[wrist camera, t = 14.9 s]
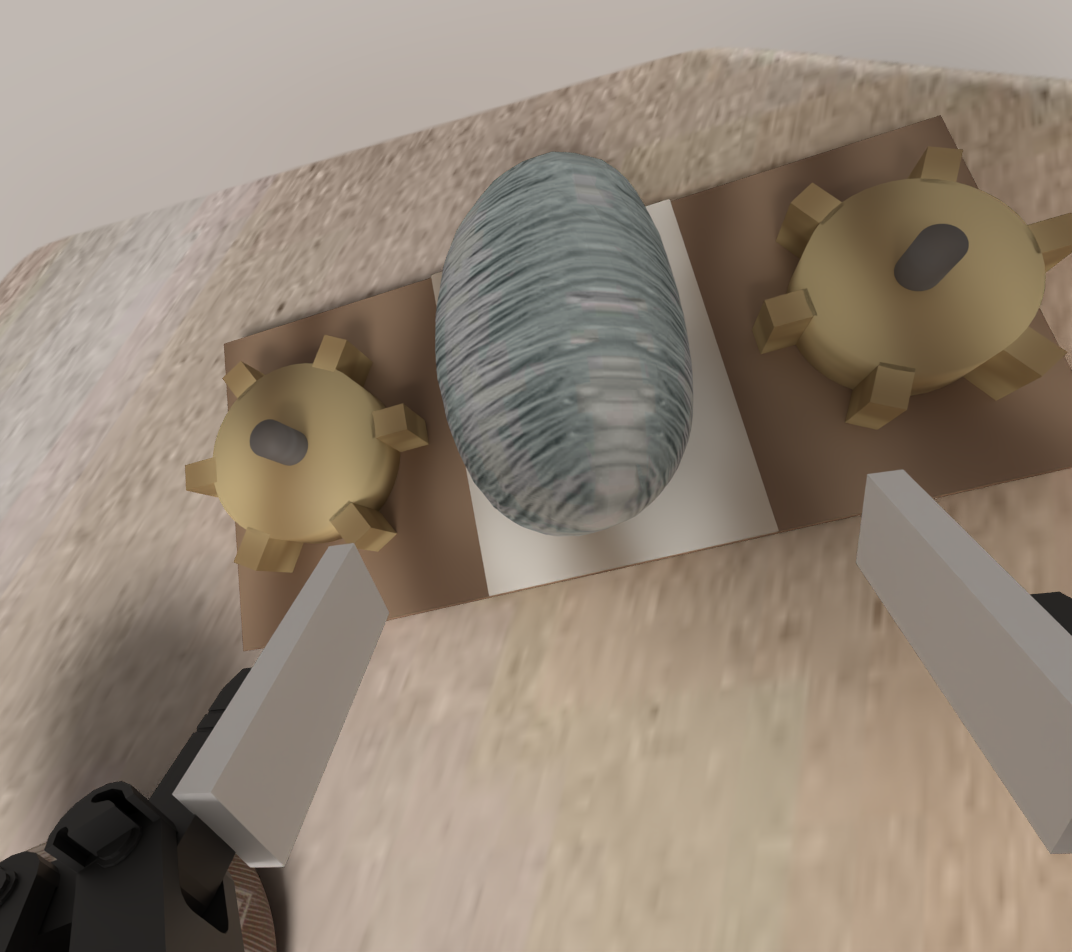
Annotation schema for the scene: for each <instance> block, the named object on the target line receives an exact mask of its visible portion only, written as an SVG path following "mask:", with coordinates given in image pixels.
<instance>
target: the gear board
mask: <svg viewBox="0 0 1072 952" xmlns="http://www.w3.org/2000/svg"><path fill="white" fill-rule="evenodd" d="M962 152H963V150H961V149H958V148H957V146H956V144H955V142H954V140H953V138H952V137H951V135H950V133H949V131H948V129H947V127H946V125H945V123H944V121H943V119H942V117H941V115H940V116H937V117H934V118H931V119H927V120H924V121H921V122H918V123H915V124H912V125H909V126H905V127H902V128H899V129H896V130H893V131H890V132H887V133H883V134H880V135H877V136H874V137H871V138H868V139H865V140H862V141H858V142H855V143H852V144H849V145H846V146H843V147H840V148H836V149H833V150H830V151H827V152H824V153H821V154H818V155H815V156H811V157H808V158H805V159H802V160H799V161H796V162H793V163H789V164H786V165H783V166H780V167H777V168H774V169H771V170H768V171H764V172H761V173H758V174H755V175H752V176H749V177H746V178H742V179H739V180H736V181H733V182H730V183H727V184H724V185H721V186H717V187H714V188H711V189H708V190H705V191H702V192H699V193H695V194H692V195H689V196H686V197H683V198H680V199H677V200H674V201H670V199H667V200H664V201H661V202H658V203H655V204H652V205H649V206H645V207H646V209H647V211H648V212H649V214H650V216H651V218H652V220H653V222H654V224H655V226H656V228H657V230H658V232H659V234H660V236H661V240H662V243H663V246H664V249H665V251H666V254H667V257H668V260H669V263H670V266H671V270H672V273H673V276H674V279H675V283H676V286H677V289H678V293H679V297H680V302H681V306H682V310H683V313H684V318H685V323H686V329H687V335H688V341H689V349H690V355H691V362H692V372H693V418H692V428H691V432H690V437H689V441H688V444H687V446H686V449H685V452H684V454H683V457H682V459H681V462H680V464H679V467H678V469H677V470H676V472H675V474H674V475H673V477H672V479H671V480H670V482H669V483H668V484H667V486H666V487H665V488H664V490H663V491H662V492H661V494H660V495H659V496H658V497H657V498H656V499H655V500H654V501H653V502H652V503H651V504H650V505H648V506H647V507H646V508H645V509H644V510H643V511H641V512H640V513H639V514H638V515H637V516H635V517H633V518H631V519H629V520H627V521H624V522H622V523H619V524H617V525H615V526H612V527H610V528H608V529H605V530H601V531H598V532H595V533H591V534H587V535H582V536H551V535H545V534H542V533H539V532H536V531H533V530H530V529H527V528H524V527H522V526H520V525H518V524H516V523H514V522H513V521H511V520H510V519H508V518H507V517H505V516H504V515H503V514H502V513H501V512H499V511H498V510H497V509H496V508H494V507H493V506H492V504H491V503H490V502H489V500H488V499H487V498H486V497H485V495H484V494H483V493H482V492H481V490H480V489H479V488H478V487H477V486H476V484H475V483H474V482H473V480H472V478H471V476H470V474H469V472H468V470H467V468H466V466H465V464H464V462H463V460H462V458H461V456H460V454H459V452H458V449H457V446H456V444H455V441H454V439H453V436H452V434H451V431H450V428H449V425H448V422H447V419H446V414H445V409H444V404H443V400H442V395H441V391H440V387H439V383H438V379H437V369H436V354H435V330H436V308H437V301H438V296H439V291H440V283H441V278H442V272H443V271H442V272H439V273H436V274H433V275H431V278H429V279H426V280H423V281H420V282H417V283H413V284H410V285H407V286H404V287H401V288H398V289H395V290H391V291H388V292H385V293H382V294H379V295H376V296H373V297H369V298H366V299H363V300H360V301H357V302H354V303H351V304H348V305H344V306H341V307H338V308H335V309H332V310H329V311H326V312H322V313H319V314H316V315H313V316H310V317H307V318H304V319H301V320H297V321H294V322H291V323H288V324H285V325H282V326H279V327H275V328H272V329H269V330H266V331H263V332H260V333H257V334H254V335H250V336H247V337H244V338H241V339H238V340H235V341H232V342H228V343H225V344H224V353H225V369H226V375H225V376H224V377H223V378H222V379H223V380H224V381H225V383H226V384H227V400H228V413H227V414H226V416H225V418H224V420H223V422H222V424H221V426H220V429H219V432H218V435H217V438H216V442H215V446H214V452H213V458H209V459H206V460H202V461H199V462H195V463H192V464H188V465H185V474H186V490H187V491H191V492H196V493H200V494H205V495H209V496H214V497H219V499H220V502H221V503H222V505H223V507H224V509H225V510H226V511H227V513H228V514H229V515H230V517H231V518H232V519H233V520H234V521H235V526H236V542H237V555H236V557H235V560H234V563H237V564H238V574H239V590H240V605H241V621H242V637H243V651H248V650H255V649H261V648H265V647H266V645H267V643H268V642H269V640H270V639H271V637H272V636H273V634H274V632H275V631H276V629H277V628H278V626H279V624H280V623H281V621H282V620H283V618H284V617H285V615H286V613H287V612H288V610H289V609H290V607H291V606H292V604H293V602H294V601H295V599H296V598H297V596H298V594H299V593H300V591H301V590H302V588H303V587H304V585H305V583H306V582H307V580H308V579H309V577H310V576H311V574H312V572H313V571H314V569H315V568H316V566H317V564H318V563H319V561H320V560H321V558H322V557H323V555H324V553H325V552H326V550H327V549H328V547H329V546H335V545H342V544H350V543H354V544H355V546H356V548H357V550H358V552H359V554H360V556H361V558H362V560H363V562H364V564H365V566H366V568H367V570H368V572H369V574H370V576H371V578H372V580H373V582H374V583H375V585H376V587H377V589H378V591H379V593H380V595H381V597H382V599H383V601H384V603H385V605H386V607H387V609H388V611H389V615H388V617H387V620H386V621H388V620H392V619H397V618H401V617H406V616H410V615H415V614H419V613H424V612H428V611H433V610H437V609H442V608H446V607H451V606H455V605H460V604H464V603H469V602H473V601H477V600H482V599H486V598H491V597H495V596H500V595H504V594H509V593H513V592H518V591H522V590H527V589H531V588H536V587H540V586H545V585H549V584H554V583H558V582H563V581H567V580H572V579H576V578H580V577H585V576H589V575H594V574H598V573H603V572H607V571H612V570H616V569H621V568H625V567H630V566H634V565H639V564H643V563H648V562H652V561H657V560H661V559H666V558H670V557H675V556H679V555H683V554H688V553H692V552H697V551H701V550H706V549H710V548H715V547H719V546H724V545H728V544H733V543H737V542H742V541H746V540H751V539H755V538H760V537H764V536H769V535H773V534H777V533H782V532H786V531H791V530H795V529H800V528H804V527H809V526H813V525H818V524H822V523H827V522H831V521H836V520H840V519H845V518H849V517H854V516H858V515H862V511H863V503H864V495H865V487H866V480H867V474H872V473H880V472H887V471H895V470H902V469H903V470H904V471H905V472H906V473H907V474H908V475H909V476H910V477H911V478H912V479H913V480H914V481H915V482H916V483H917V484H918V485H919V486H920V487H921V488H922V489H923V490H924V491H925V492H926V493H927V494H929V495H930V496H931V497H932V498H933V499H934V498H939V497H943V496H948V495H952V494H957V493H961V492H966V491H970V490H975V489H979V488H983V487H988V486H992V485H997V484H1001V483H1006V482H1010V481H1015V480H1019V479H1024V478H1028V477H1033V476H1037V475H1042V474H1046V473H1051V472H1055V471H1060V470H1064V469H1069V468H1072V370H1071V368H1070V366H1069V365H1068V363H1067V361H1066V359H1065V357H1064V355H1065V354H1066V353H1068V352H1066V351H1065V350H1063V349H1062V348H1060V347H1059V345H1058V343H1057V341H1056V339H1055V337H1054V335H1053V333H1052V331H1051V329H1050V328H1049V326H1048V324H1047V322H1046V320H1045V318H1044V316H1043V314H1042V312H1041V310H1040V308H1039V307H1040V304H1041V301H1042V298H1043V294H1044V290H1045V279H1046V275H1045V273H1046V272H1047V271H1048V270H1050V269H1051V268H1052V267H1054V266H1055V265H1056V264H1057V263H1059V262H1060V261H1061V260H1062V259H1064V258H1065V257H1066V256H1068V255H1069V254H1070V253H1071V252H1072V213H1068V214H1065V215H1061V216H1058V217H1054V218H1051V219H1047V220H1044V221H1040V222H1037V223H1033V224H1030V225H1026V223H1025V222H1024V221H1023V220H1022V219H1021V218H1020V216H1019V215H1017V214H1016V213H1015V212H1014V211H1013V210H1012V209H1011V208H1010V207H1009V206H1007V205H1006V204H1004V203H1003V202H1001V201H1000V200H998V199H997V198H995V197H993V196H991V195H989V194H987V193H986V192H984V191H981V190H979V189H978V187H977V185H976V183H975V181H974V179H973V177H972V175H971V174H970V172H969V170H968V168H967V166H966V164H965V162H964V160H963V158H962Z"/></svg>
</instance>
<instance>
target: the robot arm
mask: <svg viewBox="0 0 1072 952" xmlns="http://www.w3.org/2000/svg"><path fill="white" fill-rule="evenodd" d="M856 564H857V565H858V567H859V568H860V570H861V571H862V573H863V574H864V576H865V577H866V579H867V580H868V582H869V583H870V585H871V586H872V588H873V589H874V591H875V592H876V594H877V595H878V597H879V598H880V600H881V601H882V603H883V604H884V606H885V607H886V609H887V610H888V612H889V613H890V615H891V616H892V618H893V619H894V621H895V622H896V624H897V625H898V627H899V628H900V630H901V631H902V633H903V634H904V636H905V637H906V639H907V640H908V642H909V643H910V645H911V646H912V648H913V649H914V651H915V652H916V654H917V655H918V657H919V658H920V660H921V661H922V663H923V664H924V666H925V667H926V669H927V670H928V672H929V673H930V675H931V676H932V678H933V679H934V681H935V682H936V684H937V685H938V687H939V688H940V690H941V691H942V693H943V694H944V696H945V697H946V699H947V700H948V701H949V703H950V704H951V706H952V707H953V709H954V710H955V712H956V713H957V715H958V716H959V718H960V719H961V721H962V722H963V724H964V725H965V727H966V728H967V730H968V731H969V733H970V734H971V736H972V737H973V739H974V740H975V742H976V743H977V745H978V746H979V748H980V749H981V751H982V752H983V754H984V755H985V757H986V758H987V760H988V761H989V763H990V764H991V766H992V767H993V769H994V770H995V772H996V773H997V775H998V776H999V778H1000V779H1001V781H1002V782H1003V784H1004V785H1005V787H1006V788H1007V790H1008V791H1009V793H1010V794H1011V796H1012V797H1013V799H1014V800H1015V802H1016V803H1017V805H1018V806H1019V808H1020V809H1021V811H1022V812H1023V814H1024V815H1025V817H1026V818H1027V820H1028V821H1029V823H1030V824H1031V826H1032V827H1033V829H1034V830H1035V832H1036V833H1037V835H1038V836H1039V838H1040V839H1041V841H1042V842H1043V844H1044V845H1045V847H1046V848H1047V850H1048V851H1049V853H1050V854H1066V853H1072V598H1070V597H1068V596H1066V595H1064V594H1062V593H1061V592H1052V593H1041V594H1029V593H1028V592H1027V591H1026V590H1025V589H1024V588H1023V587H1022V586H1021V585H1020V584H1019V583H1018V582H1017V581H1016V580H1015V579H1014V578H1013V577H1012V576H1011V575H1010V574H1008V573H1007V572H1006V571H1005V570H1004V569H1003V568H1002V567H1001V566H1000V565H999V564H998V563H997V562H996V561H995V560H994V559H993V558H992V557H991V556H990V555H989V554H988V553H987V552H986V551H985V550H984V549H983V548H982V547H981V546H980V545H979V544H978V543H977V542H976V541H975V540H974V539H973V538H972V537H971V536H970V535H969V534H968V533H967V532H966V531H965V530H964V529H963V528H962V527H961V526H960V525H959V524H958V523H957V522H956V521H955V520H954V519H953V518H952V517H951V516H950V515H949V514H948V513H947V512H946V511H945V510H944V509H943V508H942V507H941V506H940V505H939V504H938V503H937V502H936V501H935V500H934V499H933V498H932V497H931V496H930V495H929V494H927V493H926V492H925V491H924V490H923V489H922V488H921V487H920V486H919V485H918V484H917V483H916V482H915V481H914V480H913V479H912V478H911V477H910V476H909V475H908V474H907V473H906V472H905V471H904V470H903V469H902V470H895V471H887V472H880V473H872V474H867V480H866V487H865V495H864V503H863V511H862V519H861V526H860V534H859V542H858V550H857V558H856ZM388 615H389V611H388V609H387V607H386V605H385V603H384V601H383V599H382V597H381V595H380V593H379V591H378V589H377V587H376V585H375V583H374V582H373V580H372V578H371V576H370V574H369V572H368V570H367V568H366V566H365V564H364V562H363V560H362V558H361V556H360V554H359V552H358V550H357V548H356V546H355V544H354V543H350V544H342V545H335V546H329V547H328V549H327V550H326V552H325V553H324V555H323V557H322V558H321V560H320V561H319V563H318V564H317V566H316V568H315V569H314V571H313V572H312V574H311V576H310V577H309V579H308V580H307V582H306V583H305V585H304V587H303V588H302V590H301V591H300V593H299V594H298V596H297V598H296V599H295V601H294V602H293V604H292V606H291V607H290V609H289V610H288V612H287V613H286V615H285V617H284V618H283V620H282V621H281V623H280V624H279V626H278V628H277V629H276V631H275V632H274V634H273V636H272V637H271V639H270V640H269V642H268V643H267V645H266V647H265V648H264V650H263V651H262V653H261V654H260V656H259V658H258V659H257V661H256V662H255V664H254V666H253V667H252V668H245V669H242V670H241V671H240V672H239V673H238V674H237V675H236V676H235V677H234V678H233V679H232V680H231V681H230V682H229V683H228V684H227V685H226V686H225V687H224V688H223V689H222V691H221V692H220V694H219V695H218V697H217V698H216V700H215V701H214V703H213V704H212V706H211V707H210V709H209V713H208V714H206V715H205V716H204V718H203V719H202V721H201V722H200V724H199V725H198V727H197V732H196V733H193V734H192V736H191V737H190V739H189V740H188V742H187V743H186V745H185V746H184V748H183V749H182V751H181V752H180V754H179V755H178V757H177V758H176V760H175V761H174V763H173V764H172V766H171V767H170V769H169V770H168V772H167V774H166V775H165V777H164V778H163V780H162V781H161V783H160V784H159V786H158V787H157V789H156V790H155V792H154V793H153V795H152V796H151V798H150V799H149V800H147V799H146V798H145V797H144V796H143V795H142V794H140V793H139V792H138V791H137V790H136V789H135V788H134V787H133V786H131V785H130V784H128V783H125V782H123V781H119V782H114V783H108V784H106V785H104V786H102V787H100V788H98V789H96V790H94V791H92V792H91V793H89V794H88V795H87V796H85V797H84V798H83V799H81V800H80V801H79V802H77V803H76V804H75V805H74V806H73V807H72V808H71V809H70V810H69V811H68V812H67V813H66V814H65V815H64V816H63V817H62V818H61V819H60V821H59V822H58V824H57V825H56V827H55V828H54V830H53V831H52V832H51V834H50V835H49V838H48V841H47V843H46V846H45V849H44V851H46V852H47V853H48V854H50V855H51V856H53V857H54V858H56V859H57V860H55V861H52V862H49V861H47V860H46V859H44V858H43V857H41V856H40V855H38V854H37V853H34V852H29V851H25V852H21V853H18V854H15V855H12V856H10V857H9V858H7V859H5V860H3V861H2V862H0V952H245V951H244V944H243V937H242V931H241V924H240V918H239V911H238V905H237V898H236V891H235V885H234V881H233V878H232V876H231V874H230V872H228V871H227V870H228V868H229V866H230V864H231V862H232V860H233V858H234V855H235V854H237V855H238V856H239V857H240V858H241V859H242V860H243V861H244V862H245V863H246V864H247V865H248V866H249V867H250V868H251V867H285V865H286V863H287V860H288V858H289V856H290V853H291V851H292V848H293V846H294V843H295V841H296V839H297V836H298V834H299V831H300V829H301V826H302V824H303V822H304V819H305V817H306V814H307V812H308V809H309V807H310V805H311V802H312V800H313V797H314V795H315V792H316V790H317V788H318V785H319V783H320V780H321V778H322V775H323V773H324V771H325V768H326V766H327V763H328V761H329V758H330V756H331V754H332V751H333V749H334V746H335V744H336V741H337V739H338V737H339V734H340V732H341V729H342V727H343V724H344V722H345V720H346V717H347V715H348V712H349V710H350V707H351V705H352V703H353V700H354V698H355V695H356V693H357V690H358V688H359V686H360V683H361V681H362V678H363V676H364V673H365V671H366V669H367V666H368V664H369V661H370V659H371V656H372V654H373V652H374V649H375V647H376V644H377V642H378V639H379V637H380V634H381V632H382V630H383V627H384V625H385V622H386V620H387V617H388Z"/></svg>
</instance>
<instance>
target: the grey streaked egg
mask: <svg viewBox="0 0 1072 952" xmlns="http://www.w3.org/2000/svg"><path fill="white" fill-rule="evenodd" d="M435 354H436V369H437V379H438V383H439V387H440V391H441V395H442V400H443V404H444V409H445V414H446V419H447V422H448V425H449V428H450V431H451V434H452V436H453V439H454V441H455V444H456V446H457V449H458V452H459V454H460V456H461V458H462V460H463V462H464V464H465V466H466V468H467V470H468V472H469V474H470V476H471V478H472V480H473V482H474V483H475V484H476V486H477V487H478V488H479V489H480V490H481V492H482V493H483V494H484V495H485V497H486V498H487V499H488V500H489V502H490V503H491V504H492V506H493V507H494V508H496V509H497V510H498V511H499V512H501V513H502V514H503V515H504V516H505V517H507V518H508V519H510V520H511V521H513V522H514V523H516V524H518V525H520V526H522V527H524V528H527V529H530V530H533V531H536V532H539V533H542V534H545V535H551V536H582V535H587V534H591V533H595V532H598V531H601V530H605V529H608V528H610V527H612V526H615V525H617V524H619V523H622V522H624V521H627V520H629V519H631V518H633V517H635V516H637V515H638V514H639V513H640V512H641V511H643V510H644V509H645V508H646V507H647V506H648V505H650V504H651V503H652V502H653V501H654V500H655V499H656V498H657V497H658V496H659V495H660V494H661V492H662V491H663V490H664V488H665V487H666V486H667V484H668V483H669V482H670V480H671V479H672V477H673V475H674V474H675V472H676V470H677V469H678V467H679V464H680V462H681V459H682V457H683V454H684V452H685V449H686V446H687V444H688V441H689V437H690V432H691V428H692V418H693V372H692V362H691V355H690V349H689V341H688V335H687V329H686V323H685V318H684V313H683V310H682V306H681V302H680V297H679V293H678V289H677V286H676V283H675V279H674V276H673V273H672V270H671V266H670V263H669V260H668V257H667V254H666V251H665V249H664V246H663V243H662V240H661V236H660V234H659V232H658V230H657V228H656V226H655V224H654V222H653V220H652V218H651V216H650V214H649V212H648V211H647V209H646V207H645V206H644V204H643V202H642V200H641V199H640V197H639V195H638V194H637V192H636V191H635V189H634V188H633V187H632V185H631V184H630V183H629V181H628V180H627V179H626V178H625V177H624V176H623V175H622V174H621V173H620V172H618V171H617V170H616V169H615V168H613V167H612V166H610V165H609V164H607V163H606V162H604V161H603V160H601V159H597V158H592V157H588V156H584V155H580V154H576V153H567V152H549V153H546V154H543V155H540V156H537V157H534V158H531V159H529V160H526V161H523V162H521V163H520V164H518V165H516V166H515V167H513V168H511V169H510V170H508V171H507V172H505V173H504V174H502V175H501V176H500V177H498V178H497V179H496V180H494V181H493V182H492V184H491V185H490V186H489V187H488V188H487V190H486V191H485V192H484V193H483V194H482V195H481V197H480V198H479V199H478V201H477V202H476V203H475V205H474V206H473V207H472V209H471V210H470V211H469V213H468V214H467V215H466V217H465V218H464V220H463V221H462V223H461V225H460V226H459V228H458V229H457V231H456V234H455V236H454V239H453V242H452V244H451V247H450V249H449V252H448V254H447V257H446V260H445V264H444V267H443V272H442V278H441V283H440V291H439V296H438V301H437V308H436V330H435Z"/></svg>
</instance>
